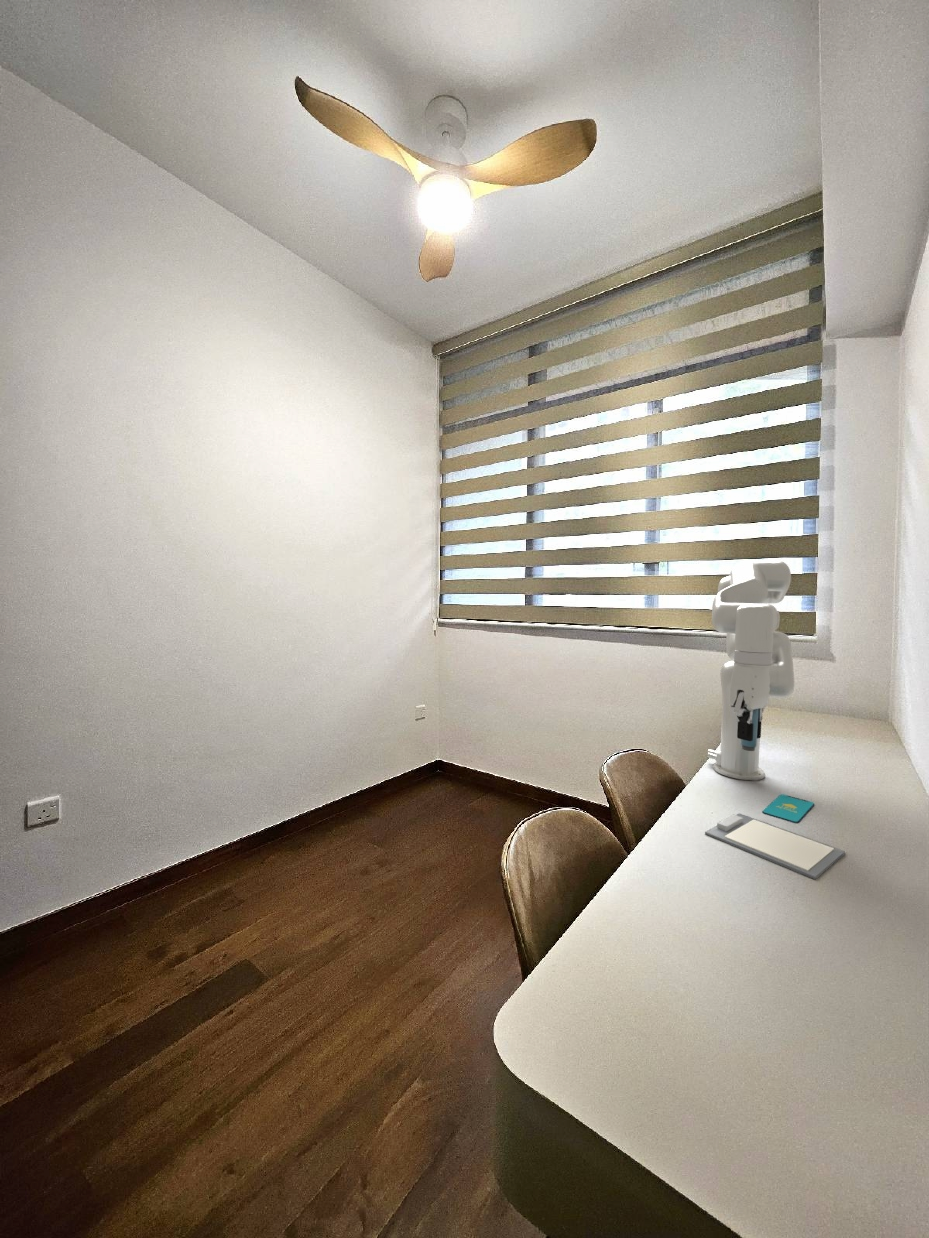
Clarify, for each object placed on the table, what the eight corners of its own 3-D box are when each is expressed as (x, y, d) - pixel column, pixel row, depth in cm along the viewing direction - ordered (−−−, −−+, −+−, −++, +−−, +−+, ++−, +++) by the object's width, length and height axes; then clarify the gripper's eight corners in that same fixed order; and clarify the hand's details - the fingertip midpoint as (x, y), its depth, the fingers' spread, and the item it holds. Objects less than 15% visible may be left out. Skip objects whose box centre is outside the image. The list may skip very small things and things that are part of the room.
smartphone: (761, 810, 115) (780, 792, 126) (760, 814, 116) (780, 795, 126) (797, 822, 110) (815, 802, 120) (797, 826, 110) (815, 805, 120)
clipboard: (704, 833, 105) (705, 827, 105) (739, 815, 114) (739, 808, 114) (815, 879, 89) (815, 871, 89) (844, 853, 98) (845, 846, 98)
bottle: (737, 748, 116) (740, 701, 115) (744, 746, 118) (746, 699, 117) (752, 752, 113) (754, 704, 113) (758, 749, 115) (761, 702, 114)
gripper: (752, 654, 122) (748, 729, 123) (718, 659, 112) (714, 740, 113) (786, 658, 116) (782, 736, 117) (753, 663, 106) (749, 748, 107)
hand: (748, 737), depth 115 cm, fingers closed on bottle, 3 cm apart
